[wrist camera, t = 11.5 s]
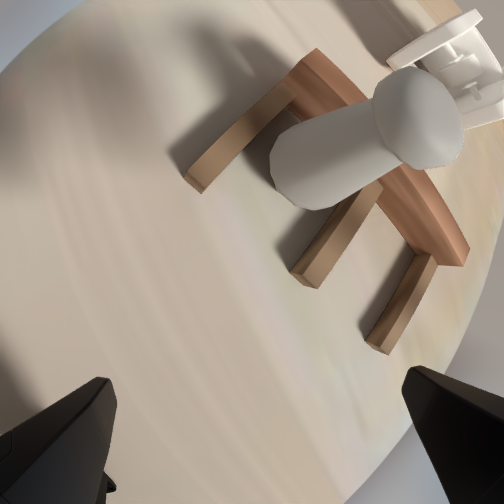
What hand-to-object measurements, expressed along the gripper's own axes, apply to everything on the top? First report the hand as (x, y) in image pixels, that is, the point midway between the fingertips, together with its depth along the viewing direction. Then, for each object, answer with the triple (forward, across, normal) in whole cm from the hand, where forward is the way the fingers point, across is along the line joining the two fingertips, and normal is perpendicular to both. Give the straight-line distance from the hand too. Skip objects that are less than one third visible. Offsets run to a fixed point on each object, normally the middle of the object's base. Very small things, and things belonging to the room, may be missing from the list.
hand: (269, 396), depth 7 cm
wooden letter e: (+15, -7, -3) cm, 17 cm away
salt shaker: (+15, -4, -6) cm, 17 cm away
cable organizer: (+22, -22, -20) cm, 37 cm away
